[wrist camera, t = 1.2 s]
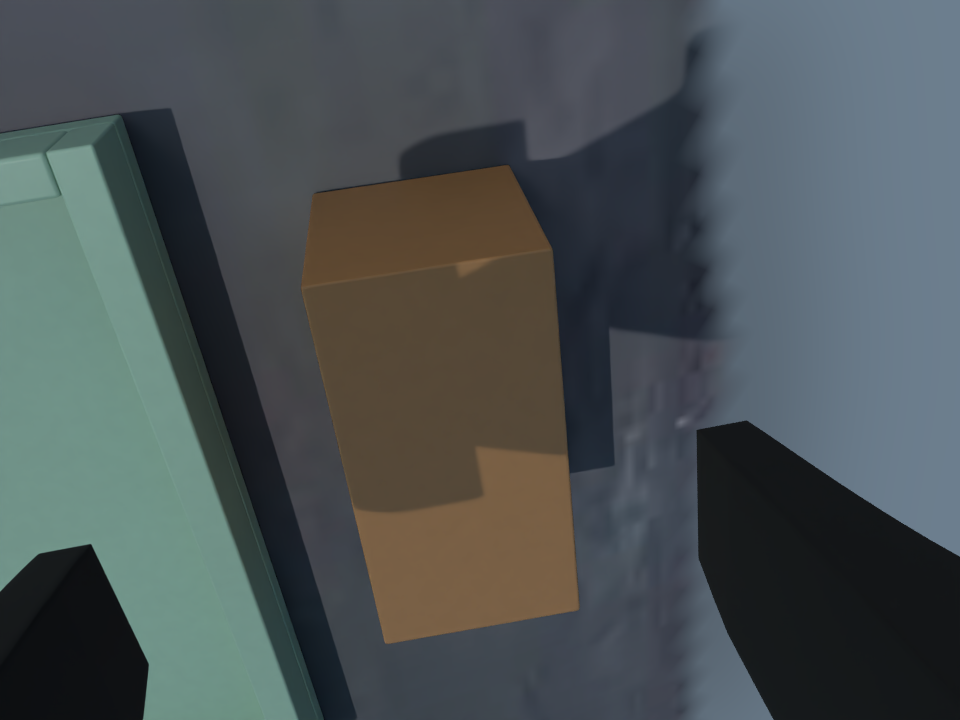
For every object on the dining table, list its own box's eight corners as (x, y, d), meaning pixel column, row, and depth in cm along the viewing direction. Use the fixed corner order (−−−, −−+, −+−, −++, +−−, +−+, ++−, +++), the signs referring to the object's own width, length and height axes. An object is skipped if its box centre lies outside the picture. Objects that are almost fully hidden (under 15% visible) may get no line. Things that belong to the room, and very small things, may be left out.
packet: (509, 163, 18) (553, 247, 14) (540, 477, 22) (580, 610, 18) (312, 193, 17) (300, 286, 14) (379, 504, 21) (385, 645, 18)
